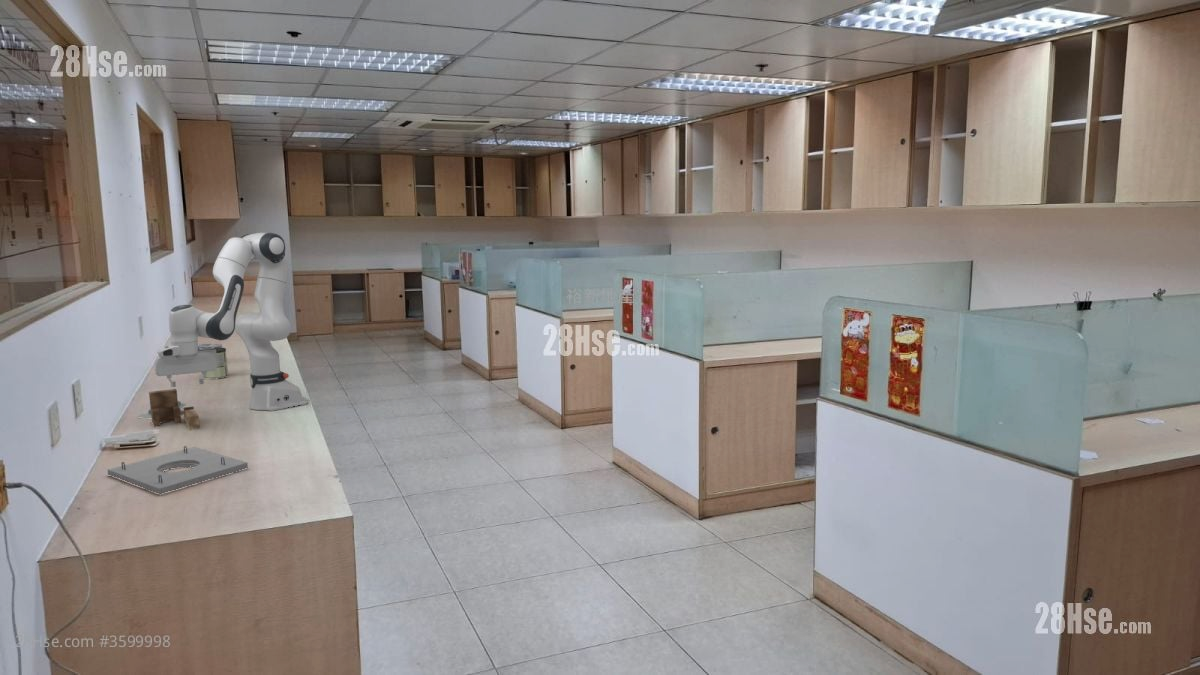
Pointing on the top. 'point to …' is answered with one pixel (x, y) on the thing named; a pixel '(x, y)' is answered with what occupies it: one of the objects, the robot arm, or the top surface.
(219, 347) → the light bulb box
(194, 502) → the top surface
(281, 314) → the robot arm
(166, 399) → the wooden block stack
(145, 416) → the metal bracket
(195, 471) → the mounting panel
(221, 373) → the coffee can
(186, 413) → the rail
